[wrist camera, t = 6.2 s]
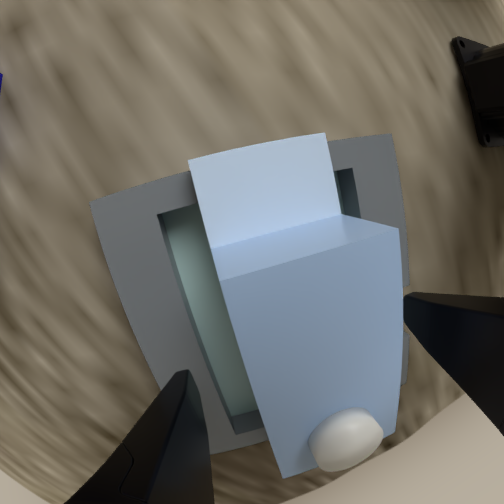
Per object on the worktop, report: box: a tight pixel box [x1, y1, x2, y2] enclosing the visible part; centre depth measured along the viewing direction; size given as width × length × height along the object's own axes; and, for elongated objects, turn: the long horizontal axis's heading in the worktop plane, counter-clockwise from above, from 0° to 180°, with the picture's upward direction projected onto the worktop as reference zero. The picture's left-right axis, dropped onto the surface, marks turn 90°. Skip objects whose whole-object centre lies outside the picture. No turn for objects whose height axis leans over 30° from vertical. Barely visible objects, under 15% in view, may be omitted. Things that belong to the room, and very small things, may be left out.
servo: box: [188, 133, 403, 479], centre depth 9 cm, size 4×12×6 cm, turn 13°
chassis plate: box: [89, 134, 410, 455], centre depth 11 cm, size 10×12×1 cm
